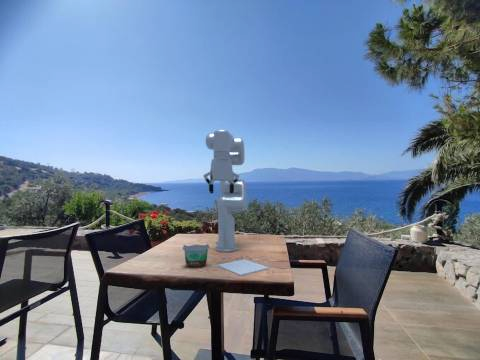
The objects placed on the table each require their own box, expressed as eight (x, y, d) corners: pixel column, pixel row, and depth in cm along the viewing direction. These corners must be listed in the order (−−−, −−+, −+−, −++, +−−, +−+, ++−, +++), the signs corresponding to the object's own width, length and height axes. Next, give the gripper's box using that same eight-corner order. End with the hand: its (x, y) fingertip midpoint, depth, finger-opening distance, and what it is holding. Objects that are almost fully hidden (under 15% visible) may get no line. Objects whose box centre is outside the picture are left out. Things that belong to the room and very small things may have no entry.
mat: (216, 266, 130) (217, 264, 130) (243, 260, 139) (243, 259, 139) (241, 276, 115) (241, 274, 115) (269, 268, 125) (269, 267, 125)
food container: (182, 269, 124) (182, 247, 125) (182, 265, 130) (182, 244, 131) (210, 268, 127) (210, 245, 127) (209, 264, 133) (209, 243, 133)
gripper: (235, 158, 138) (235, 193, 137) (201, 156, 131) (201, 193, 131) (241, 156, 131) (241, 193, 130) (205, 154, 125) (205, 193, 124)
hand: (221, 193), depth 131 cm, fingers open, 9 cm apart
